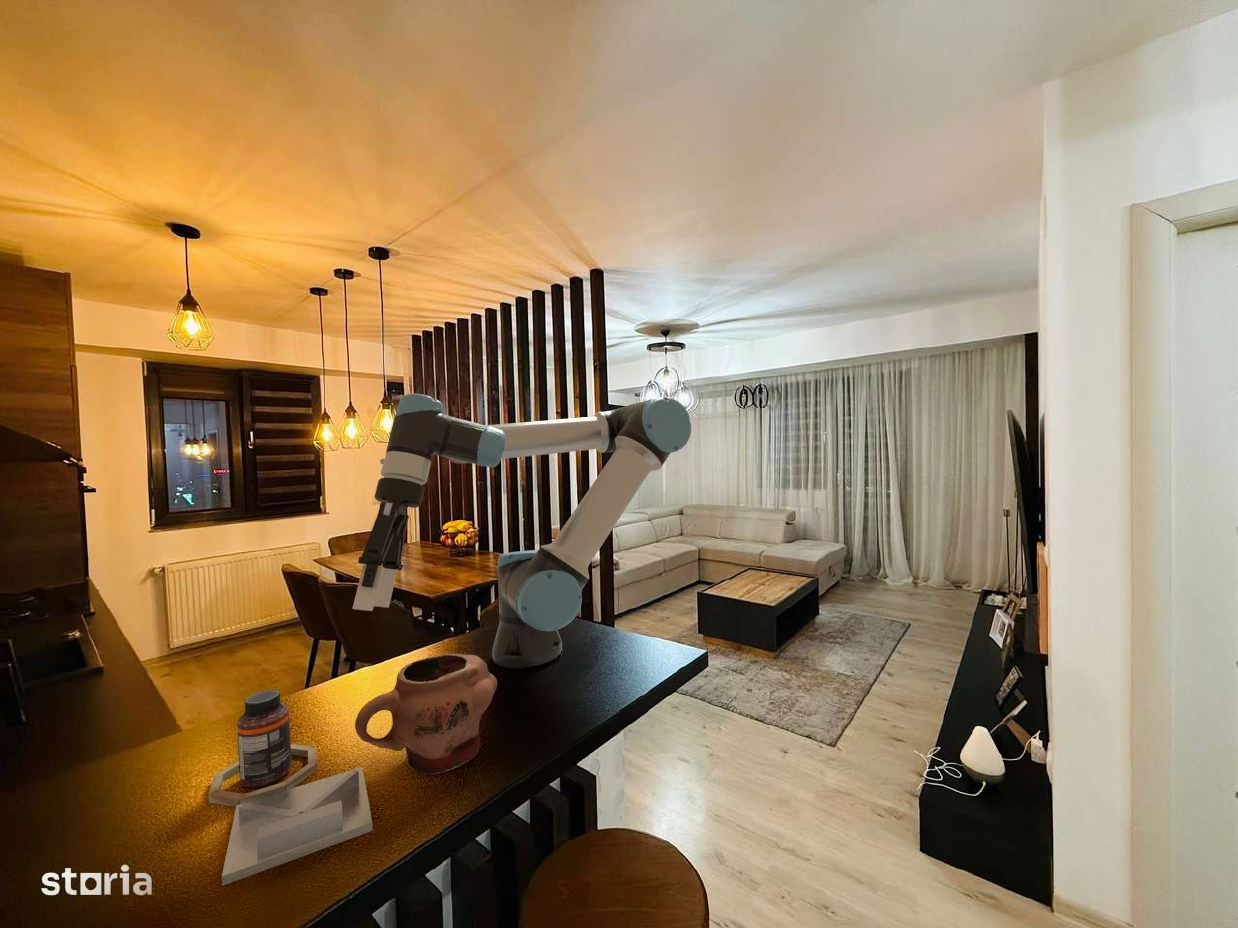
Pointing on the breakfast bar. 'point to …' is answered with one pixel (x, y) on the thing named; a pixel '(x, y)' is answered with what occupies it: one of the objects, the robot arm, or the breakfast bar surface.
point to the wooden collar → (237, 798)
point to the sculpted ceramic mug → (434, 711)
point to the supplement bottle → (264, 740)
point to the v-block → (296, 823)
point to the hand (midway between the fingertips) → (372, 608)
